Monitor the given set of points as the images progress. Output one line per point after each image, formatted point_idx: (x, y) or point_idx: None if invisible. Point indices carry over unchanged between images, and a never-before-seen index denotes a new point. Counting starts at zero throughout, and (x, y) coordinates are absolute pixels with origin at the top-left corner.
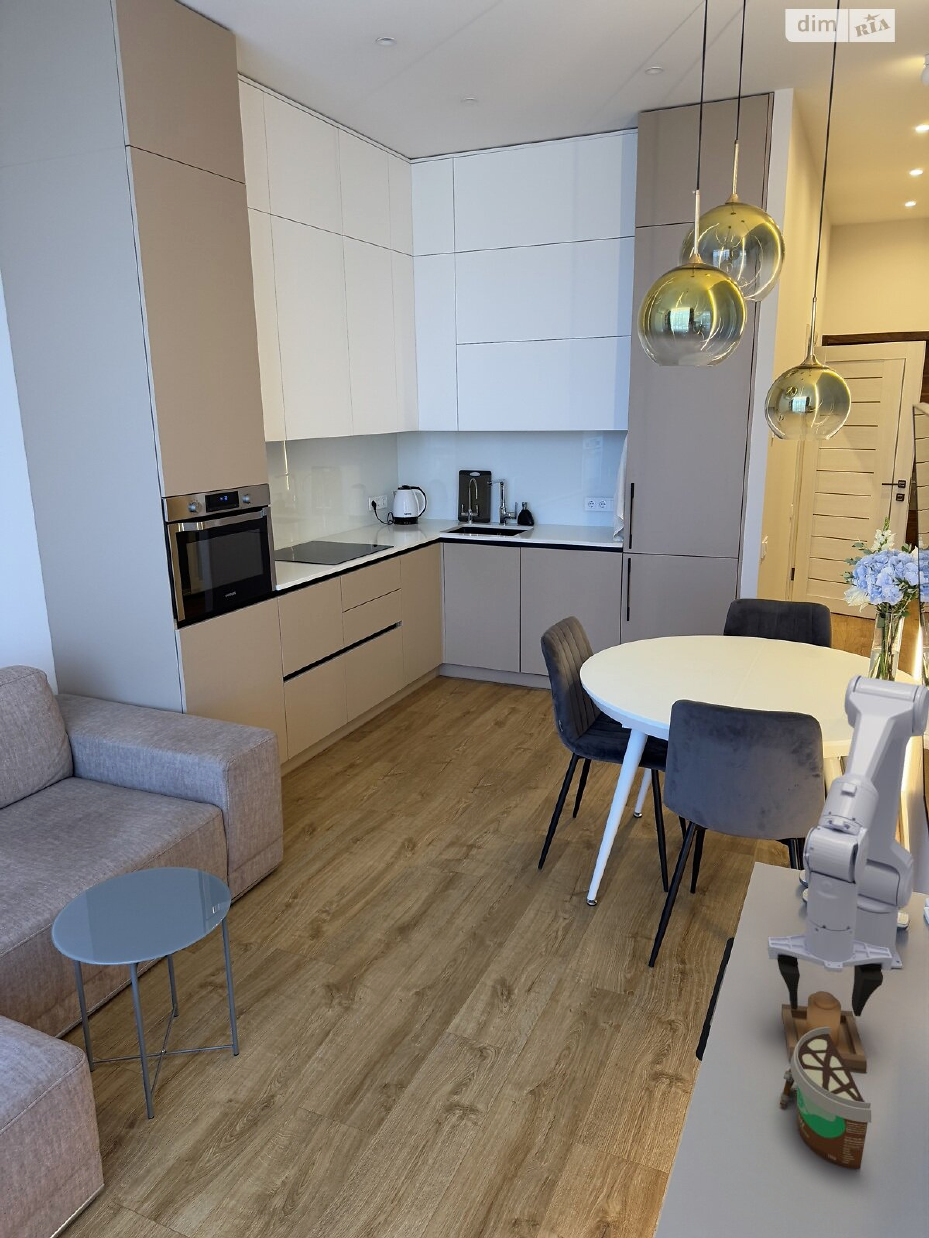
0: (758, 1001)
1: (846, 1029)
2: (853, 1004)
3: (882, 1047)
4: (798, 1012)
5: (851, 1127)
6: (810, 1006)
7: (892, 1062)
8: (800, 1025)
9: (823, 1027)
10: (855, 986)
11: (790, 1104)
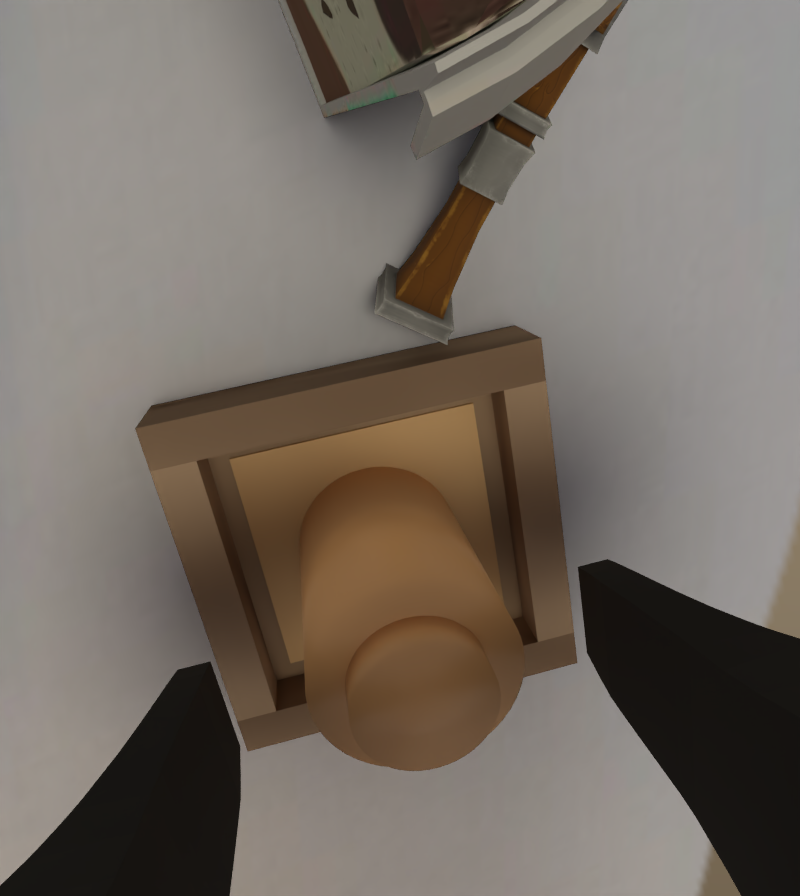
0: None
1: (267, 643)
2: (223, 741)
3: (95, 610)
4: None
5: None
6: (506, 611)
7: (34, 532)
8: None
9: (525, 14)
10: (206, 893)
11: None
